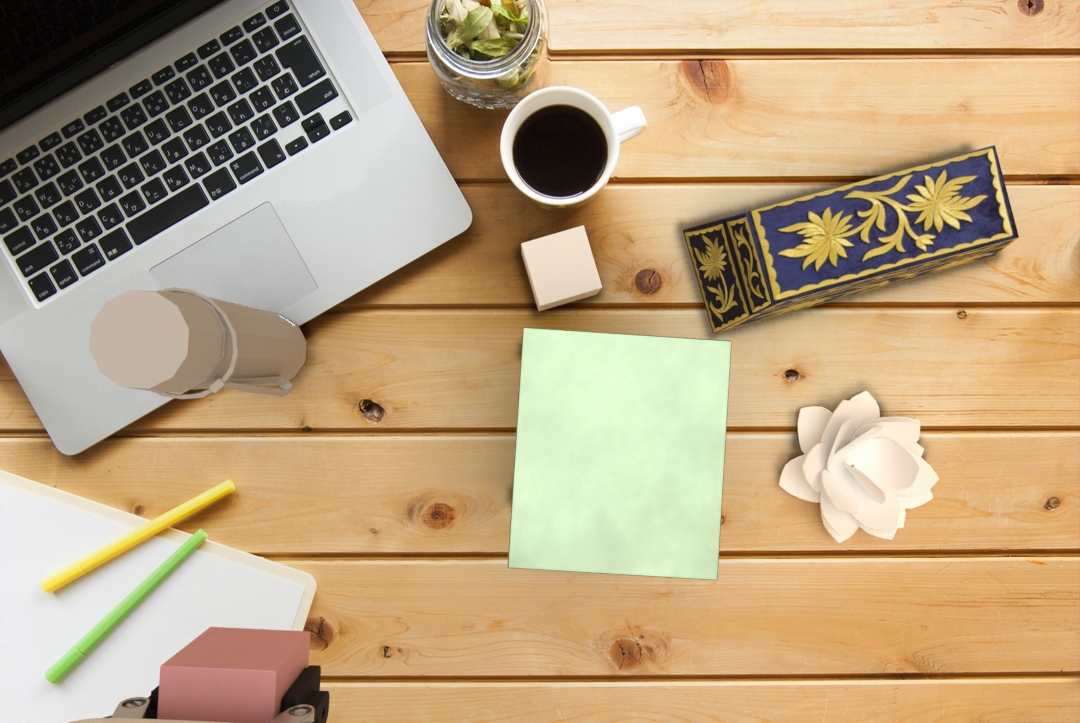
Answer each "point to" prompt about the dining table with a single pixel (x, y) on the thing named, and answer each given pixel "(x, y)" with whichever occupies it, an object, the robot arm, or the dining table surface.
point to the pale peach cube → (561, 268)
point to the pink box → (232, 675)
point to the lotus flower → (859, 467)
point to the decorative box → (852, 239)
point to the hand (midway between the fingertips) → (253, 694)
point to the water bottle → (194, 345)
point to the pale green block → (619, 454)
